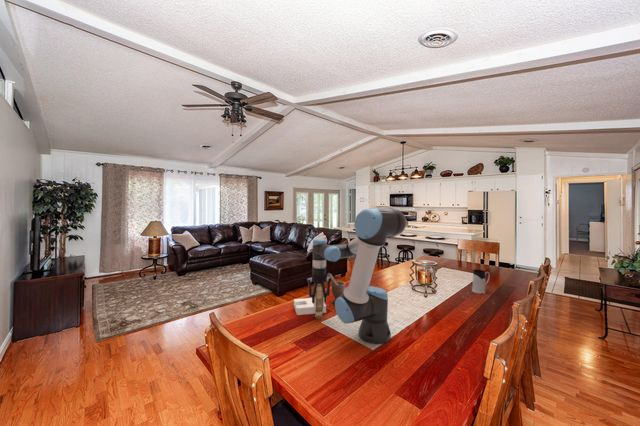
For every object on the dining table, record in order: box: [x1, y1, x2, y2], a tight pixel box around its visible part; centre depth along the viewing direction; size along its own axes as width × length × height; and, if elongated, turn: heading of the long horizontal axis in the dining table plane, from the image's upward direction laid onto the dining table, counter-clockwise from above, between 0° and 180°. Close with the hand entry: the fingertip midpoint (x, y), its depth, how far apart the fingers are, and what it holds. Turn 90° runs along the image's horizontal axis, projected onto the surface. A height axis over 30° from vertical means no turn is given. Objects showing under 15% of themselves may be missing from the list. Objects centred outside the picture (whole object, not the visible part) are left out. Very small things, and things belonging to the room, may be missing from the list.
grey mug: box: [471, 269, 491, 294], centre depth 193 cm, size 9×14×15 cm, turn 107°
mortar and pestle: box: [326, 272, 346, 306], centre depth 166 cm, size 12×9×20 cm
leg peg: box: [314, 284, 323, 320], centre depth 147 cm, size 4×4×18 cm
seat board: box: [293, 297, 327, 316], centre depth 159 cm, size 14×17×4 cm
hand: (318, 308), depth 147 cm, fingers closed on leg peg, 4 cm apart
